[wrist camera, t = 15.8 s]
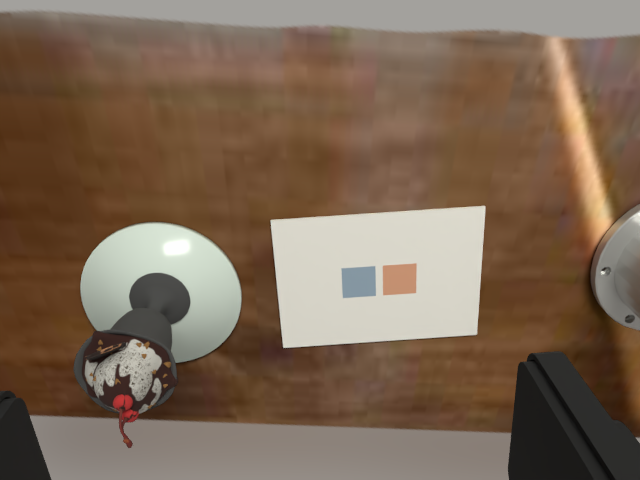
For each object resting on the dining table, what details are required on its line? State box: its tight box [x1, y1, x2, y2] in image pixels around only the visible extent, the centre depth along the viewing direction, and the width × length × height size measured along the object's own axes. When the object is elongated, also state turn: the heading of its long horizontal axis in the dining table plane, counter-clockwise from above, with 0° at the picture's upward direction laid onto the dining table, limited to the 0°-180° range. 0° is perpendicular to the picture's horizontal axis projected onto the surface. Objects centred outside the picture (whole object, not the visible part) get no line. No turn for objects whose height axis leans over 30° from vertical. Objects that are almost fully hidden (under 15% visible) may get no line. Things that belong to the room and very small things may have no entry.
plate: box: [80, 222, 242, 363], centre depth 47 cm, size 13×13×1 cm
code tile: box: [271, 206, 485, 348], centre depth 47 cm, size 17×12×1 cm
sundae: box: [74, 273, 190, 448], centre depth 40 cm, size 7×7×15 cm
